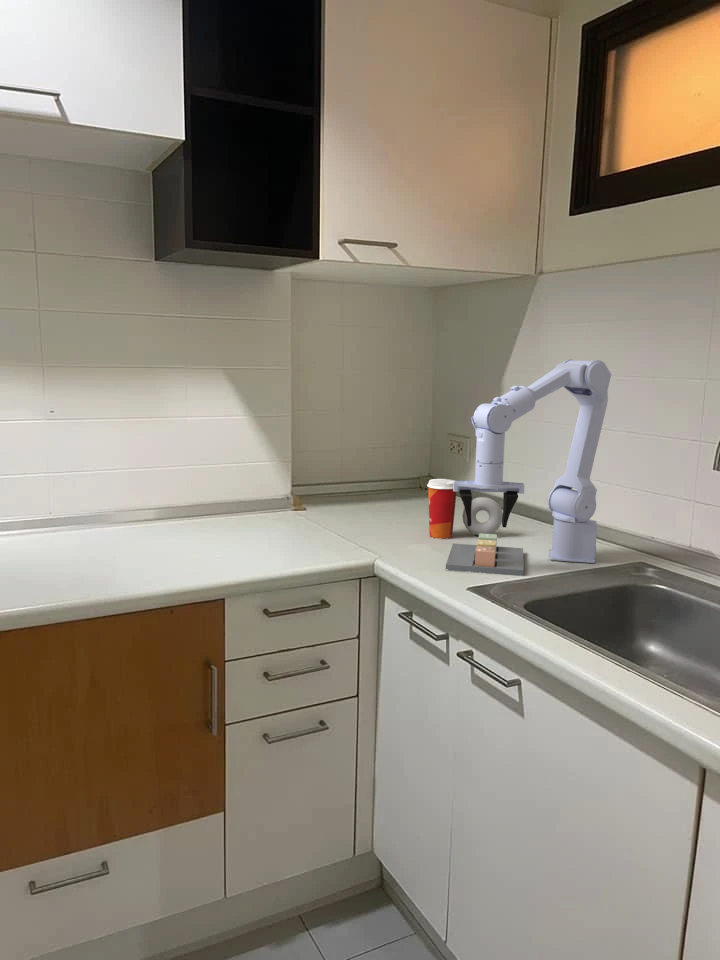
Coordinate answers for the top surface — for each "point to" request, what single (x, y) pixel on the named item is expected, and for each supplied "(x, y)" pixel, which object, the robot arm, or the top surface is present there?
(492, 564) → the tile three pips
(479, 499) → the donut
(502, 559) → the grey slotted tray
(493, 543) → the tile two pips
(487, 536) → the tile one pip
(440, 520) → the paper cup
